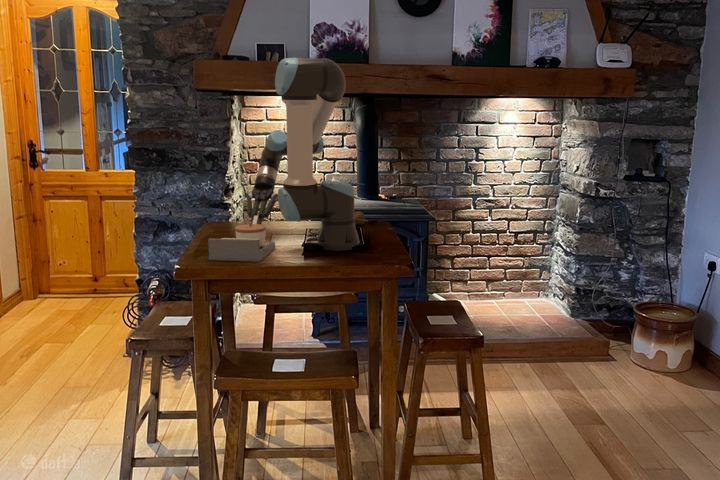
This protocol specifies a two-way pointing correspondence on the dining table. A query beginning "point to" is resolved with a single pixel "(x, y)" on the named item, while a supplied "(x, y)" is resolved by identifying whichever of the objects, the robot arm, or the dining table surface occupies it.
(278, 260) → the dining table surface
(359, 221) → the kendama
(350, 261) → the dining table surface
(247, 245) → the grey u-shaped frame
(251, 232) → the lidded jar
